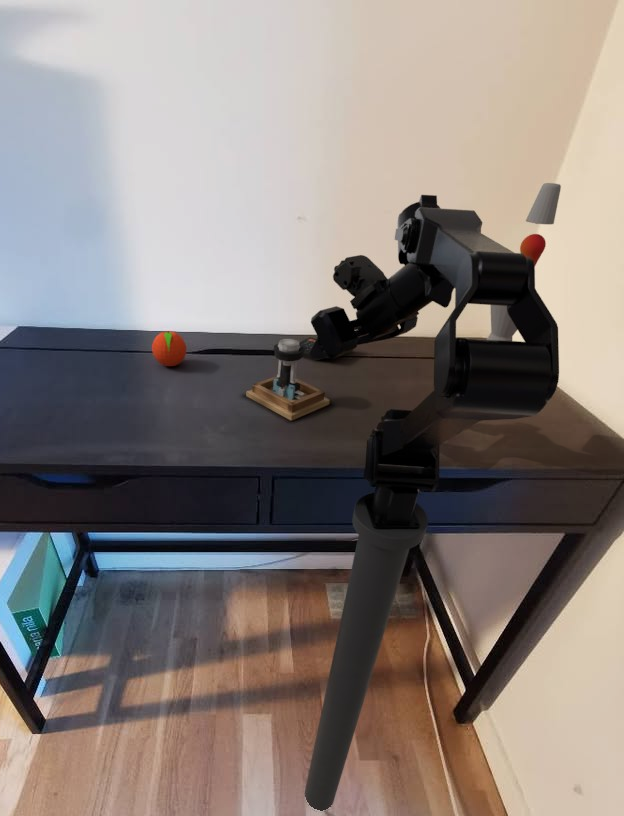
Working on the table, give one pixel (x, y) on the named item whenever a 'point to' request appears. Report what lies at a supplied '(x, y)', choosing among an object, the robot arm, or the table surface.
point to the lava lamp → (527, 254)
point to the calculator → (308, 347)
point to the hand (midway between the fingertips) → (331, 349)
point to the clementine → (169, 348)
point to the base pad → (285, 406)
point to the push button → (287, 368)
